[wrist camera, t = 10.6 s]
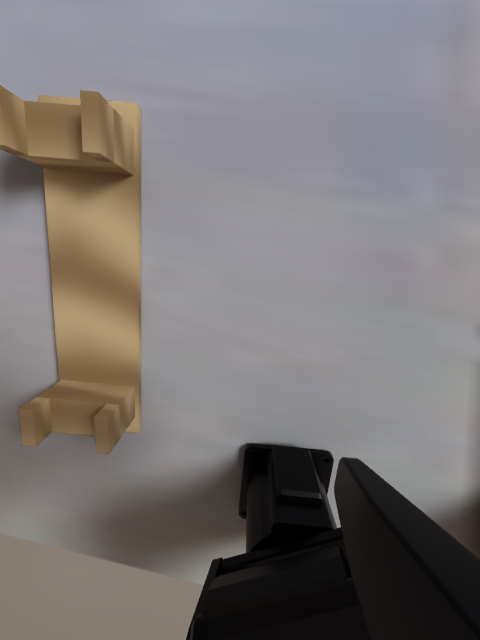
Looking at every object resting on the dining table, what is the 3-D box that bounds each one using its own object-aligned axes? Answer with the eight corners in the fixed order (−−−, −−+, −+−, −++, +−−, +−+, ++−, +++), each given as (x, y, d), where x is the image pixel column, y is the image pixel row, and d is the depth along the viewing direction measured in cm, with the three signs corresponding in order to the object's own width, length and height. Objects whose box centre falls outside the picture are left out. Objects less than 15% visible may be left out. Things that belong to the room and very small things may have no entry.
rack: (140, 428, 21) (113, 472, 17) (67, 420, 21) (21, 463, 17) (141, 108, 16) (101, 56, 12) (45, 100, 16) (-28, 46, 12)
